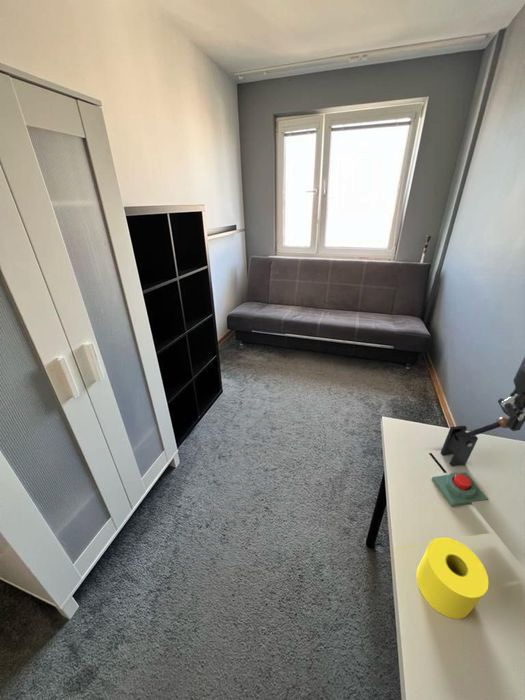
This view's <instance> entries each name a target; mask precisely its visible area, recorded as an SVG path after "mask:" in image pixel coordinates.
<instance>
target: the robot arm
mask: <svg viewBox="0 0 525 700" xmlns="http://www.w3.org/2000/svg"><path fill="white" fill-rule="evenodd" d="M513 384H514V389H513V390H512V391H511V392H510V394H509V395H510V397H508V398H506V399H504V398H501V397H500V398H499V399H498V400H497V403H498V404H499V406H500V408H501V410H502V412H503V413H504V414H505V415H506V416H507V417H508V421H507V423H506V425H507V427H508V428H507V429H509V430H510V431H512V432H516V431H520V430H521V428H522V427H523V426H524V424H525V356H524V357H523V358H522V361H521V363H520V365H519V367H518V369H517V372H516V374H515V376H514V378H513Z"/></svg>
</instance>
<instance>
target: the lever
mask: <svg viewBox="0 0 525 700" xmlns="http://www.w3.org/2000/svg"><path fill="white" fill-rule="evenodd" d="M508 419H509V417H506V416H499V417H498V418H497V419H496V420H495V421H496V422H493V423H490V424H487V425H483V426H481V427H478V428H476V429H473V430H469V431H467V430H466V431H465V430H462V431H460V432H457V433H455V439H456V440H457V441H458V442H459V441H460V438H461V437H468V436H477V435H480V434H483V433H484V434H485V433H486V432H489V431H493V430H495V429H498V428H501V429H509V428H508V427H507V425H506V423H507V421H508Z"/></svg>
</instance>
